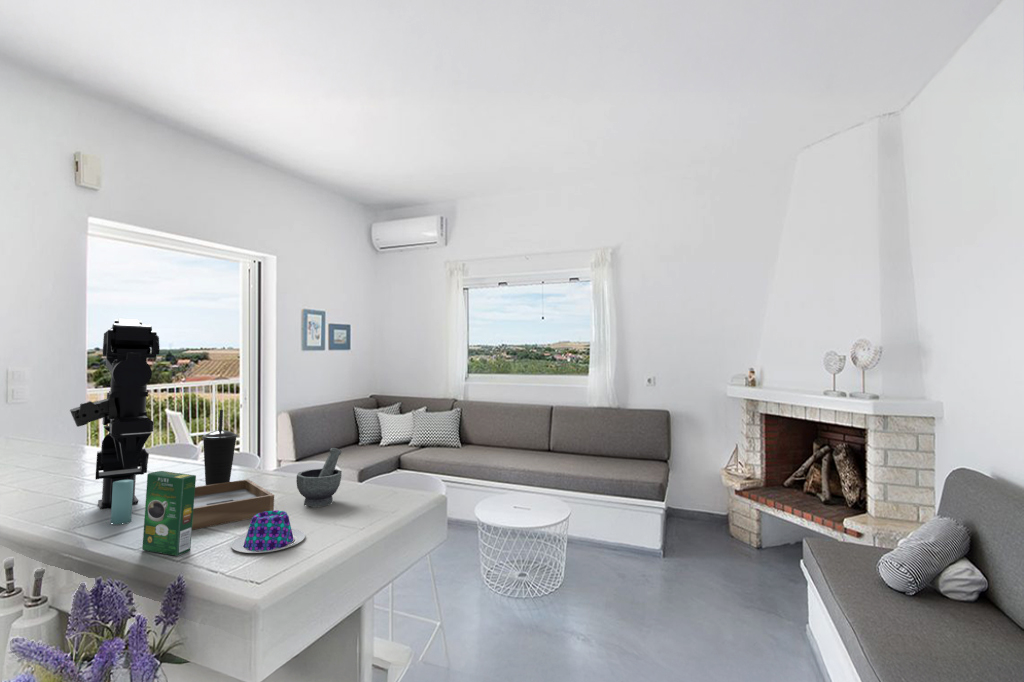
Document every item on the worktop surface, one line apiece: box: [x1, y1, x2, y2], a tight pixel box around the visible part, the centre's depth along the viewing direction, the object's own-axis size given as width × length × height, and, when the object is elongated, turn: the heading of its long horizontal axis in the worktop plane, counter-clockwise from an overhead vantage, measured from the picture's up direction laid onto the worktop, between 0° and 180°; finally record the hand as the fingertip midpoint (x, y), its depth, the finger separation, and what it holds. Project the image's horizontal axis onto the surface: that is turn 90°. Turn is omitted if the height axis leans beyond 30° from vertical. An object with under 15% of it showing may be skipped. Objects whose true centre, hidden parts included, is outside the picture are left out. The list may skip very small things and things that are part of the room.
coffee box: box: [142, 470, 197, 557], centre depth 82 cm, size 8×3×13 cm, turn 75°
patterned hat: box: [230, 509, 306, 554], centre depth 86 cm, size 12×12×5 cm
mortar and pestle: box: [296, 447, 342, 508], centre depth 111 cm, size 11×9×12 cm
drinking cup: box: [201, 409, 238, 485], centre depth 119 cm, size 8×8×20 cm
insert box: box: [192, 478, 275, 531], centre depth 103 cm, size 18×16×4 cm
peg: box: [110, 480, 134, 525], centre depth 95 cm, size 3×3×8 cm
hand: (124, 464), depth 95 cm, fingers open, 9 cm apart
